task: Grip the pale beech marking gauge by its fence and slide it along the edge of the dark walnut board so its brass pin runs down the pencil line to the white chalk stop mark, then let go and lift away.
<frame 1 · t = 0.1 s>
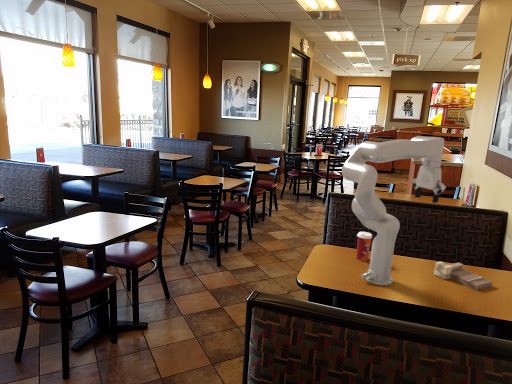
hand: (426, 199, 175), 37 cm above the table, tool pointing down, fingers open, 9 cm apart
marking gauge: (450, 268, 181), point 3 cm above the table, slide at 0.0 cm
paper cup: (361, 259, 196), on the table
walnut board: (463, 279, 177), on the table
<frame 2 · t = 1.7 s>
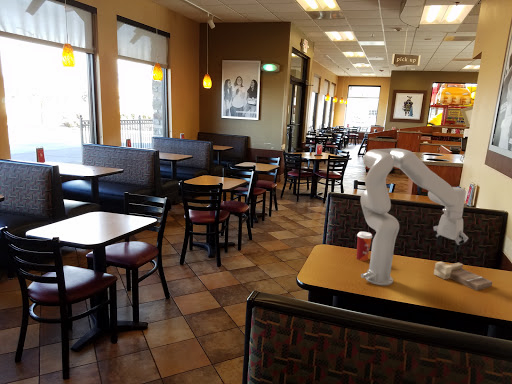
hand: (447, 248, 176), 15 cm above the table, tool pointing down, fingers open, 9 cm apart
nothing on the table moved.
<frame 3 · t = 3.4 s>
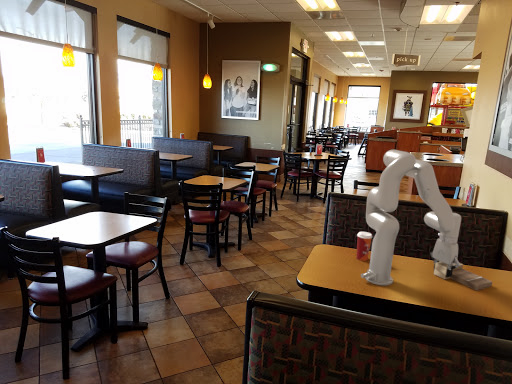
hand: (442, 273, 178), 2 cm above the table, tool pointing down, fingers closed on marking gauge, 6 cm apart
marking gauge: (450, 268, 181), point 3 cm above the table, slide at 0.0 cm, touching gripper
everything else where it was.
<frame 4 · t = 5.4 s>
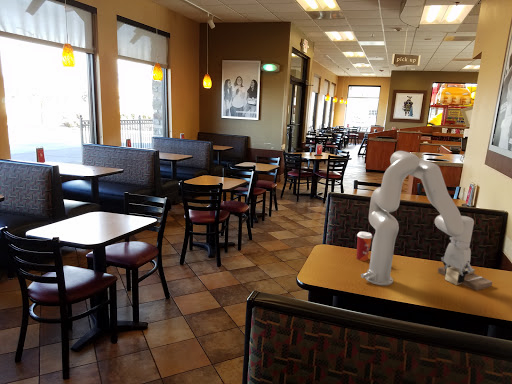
hand: (453, 278, 173), 2 cm above the table, tool pointing down, fingers closed on marking gauge, 6 cm apart
marking gauge: (462, 273, 175), point 3 cm above the table, slide at 6.1 cm, touching gripper
everything else where it was.
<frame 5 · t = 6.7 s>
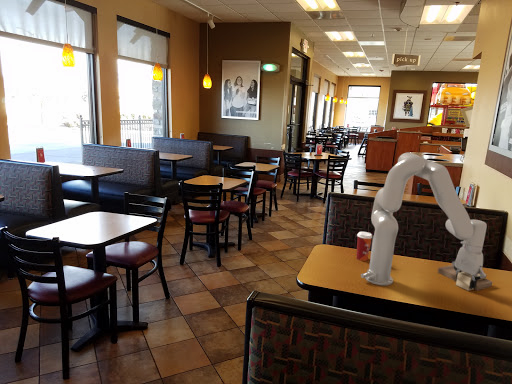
hand: (465, 284, 168), 2 cm above the table, tool pointing down, fingers closed on marking gauge, 6 cm apart
marking gauge: (473, 278, 170), point 3 cm above the table, slide at 11.8 cm, touching gripper
everything else where it was.
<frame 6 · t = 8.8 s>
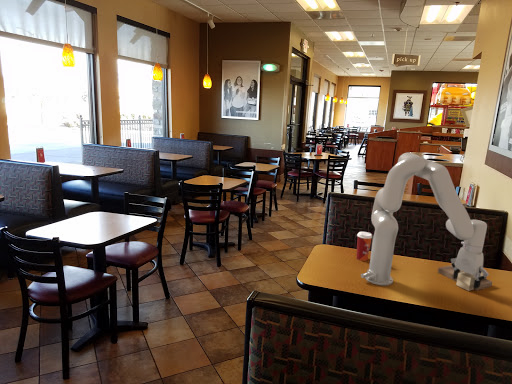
hand: (465, 282, 168), 2 cm above the table, tool pointing down, fingers open, 9 cm apart
marking gauge: (473, 279, 170), point 3 cm above the table, slide at 12.0 cm
everything else where it was.
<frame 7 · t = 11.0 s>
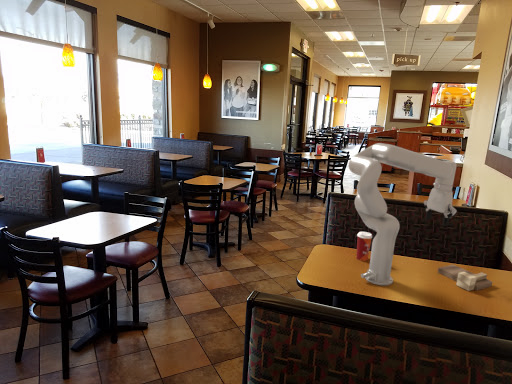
hand: (436, 222, 176), 26 cm above the table, tool pointing down, fingers open, 9 cm apart
nothing on the table moved.
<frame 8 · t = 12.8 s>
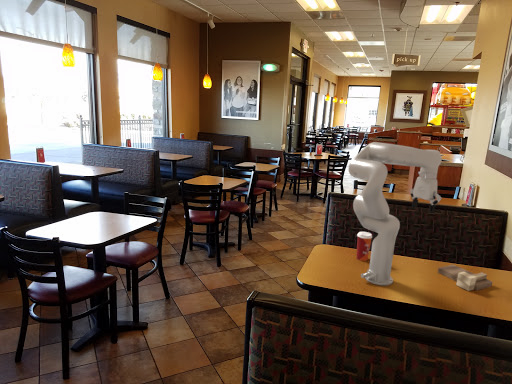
hand: (422, 209, 181), 30 cm above the table, tool pointing down, fingers open, 9 cm apart
nothing on the table moved.
at the end: marking gauge slide at 12.0 cm; the gripper is holding nothing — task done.
